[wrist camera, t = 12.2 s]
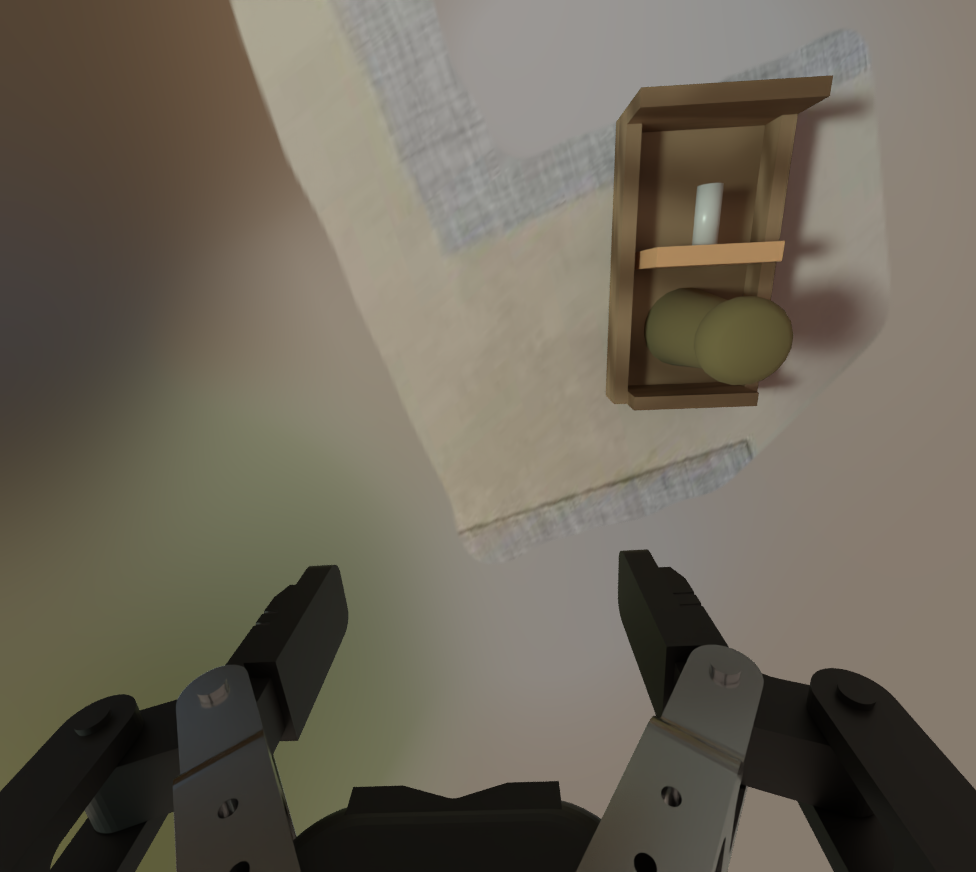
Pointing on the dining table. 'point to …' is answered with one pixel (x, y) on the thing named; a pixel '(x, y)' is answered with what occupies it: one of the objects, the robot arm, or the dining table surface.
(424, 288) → the dining table surface
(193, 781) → the robot arm
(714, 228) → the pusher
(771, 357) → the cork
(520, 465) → the dining table surface
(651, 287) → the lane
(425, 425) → the dining table surface
